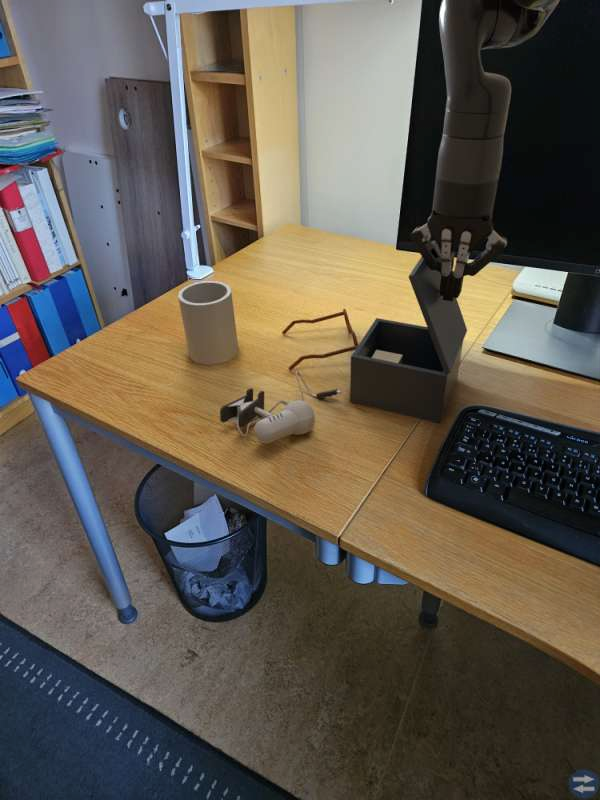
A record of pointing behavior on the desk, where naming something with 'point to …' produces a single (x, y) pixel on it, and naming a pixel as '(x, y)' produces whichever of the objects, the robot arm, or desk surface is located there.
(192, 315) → the cup
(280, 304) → the desk surface
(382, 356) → the block
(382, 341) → the box
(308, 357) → the glasses
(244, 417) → the clip-on lamp
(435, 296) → the box lid
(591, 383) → the desk surface
